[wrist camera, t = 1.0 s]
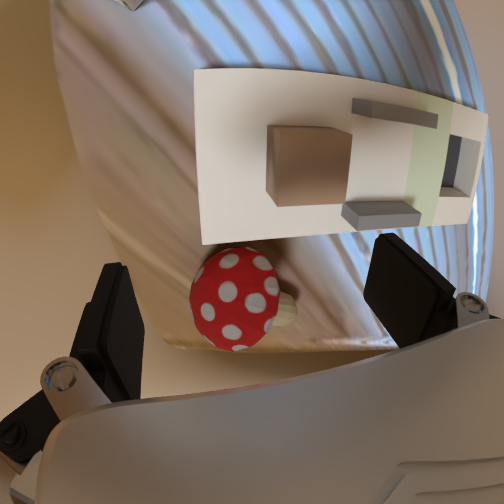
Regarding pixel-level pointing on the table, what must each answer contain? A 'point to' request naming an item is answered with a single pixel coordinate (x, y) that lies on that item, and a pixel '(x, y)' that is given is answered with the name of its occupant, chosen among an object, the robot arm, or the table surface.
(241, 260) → the decorative mushroom
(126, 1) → the syrup box
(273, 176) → the walnut block
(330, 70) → the table surface
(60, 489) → the robot arm
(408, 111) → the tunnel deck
